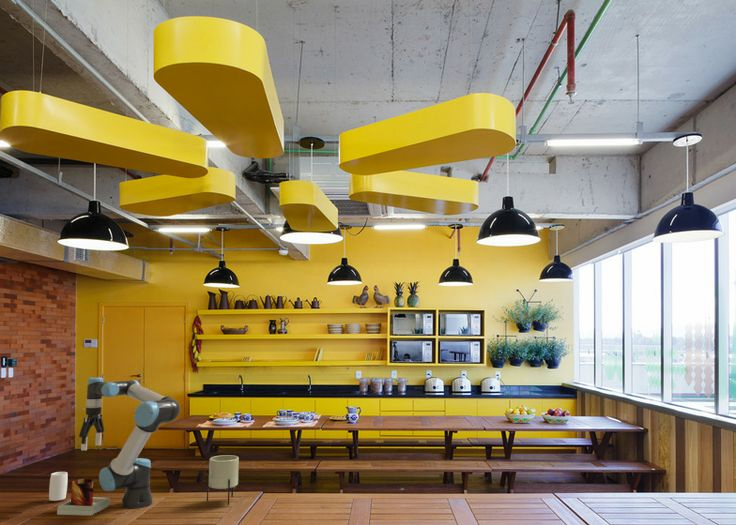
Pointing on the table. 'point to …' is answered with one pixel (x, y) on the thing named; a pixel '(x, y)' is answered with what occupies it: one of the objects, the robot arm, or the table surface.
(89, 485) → the mug
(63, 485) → the cup
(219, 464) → the planter
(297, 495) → the table surface
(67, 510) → the tray
